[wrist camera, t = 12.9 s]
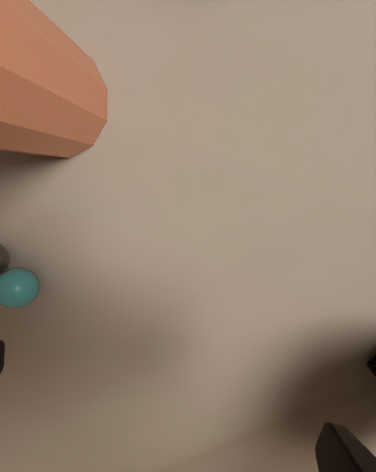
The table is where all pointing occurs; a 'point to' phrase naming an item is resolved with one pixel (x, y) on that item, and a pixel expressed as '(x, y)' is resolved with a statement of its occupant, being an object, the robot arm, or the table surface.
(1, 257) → the graphite marble
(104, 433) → the table surface
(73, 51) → the faceted domed cylinder
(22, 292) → the teal marble
